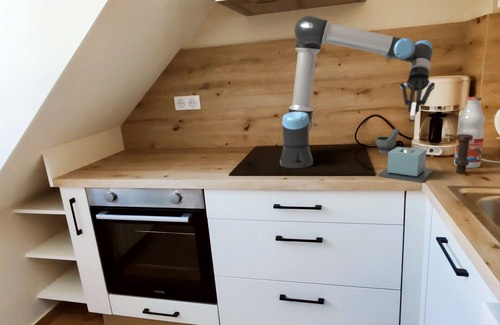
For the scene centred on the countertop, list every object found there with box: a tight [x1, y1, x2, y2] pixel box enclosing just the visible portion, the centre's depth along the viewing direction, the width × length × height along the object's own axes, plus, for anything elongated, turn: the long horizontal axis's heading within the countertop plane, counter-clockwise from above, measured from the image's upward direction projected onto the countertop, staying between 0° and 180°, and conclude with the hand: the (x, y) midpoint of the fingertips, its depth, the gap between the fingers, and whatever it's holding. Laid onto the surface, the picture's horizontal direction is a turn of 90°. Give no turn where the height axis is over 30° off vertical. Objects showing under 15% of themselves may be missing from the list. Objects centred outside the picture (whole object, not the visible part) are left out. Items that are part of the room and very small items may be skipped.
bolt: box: [454, 134, 473, 175], centre depth 133 cm, size 6×5×15 cm
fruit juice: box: [453, 96, 486, 169], centre depth 140 cm, size 9×9×28 cm
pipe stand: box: [377, 149, 434, 184], centre depth 136 cm, size 16×16×10 cm
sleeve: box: [386, 146, 427, 176], centre depth 136 cm, size 11×11×8 cm
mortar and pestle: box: [374, 127, 401, 154], centre depth 172 cm, size 11×9×12 cm
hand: (412, 117), depth 134 cm, fingers closed
